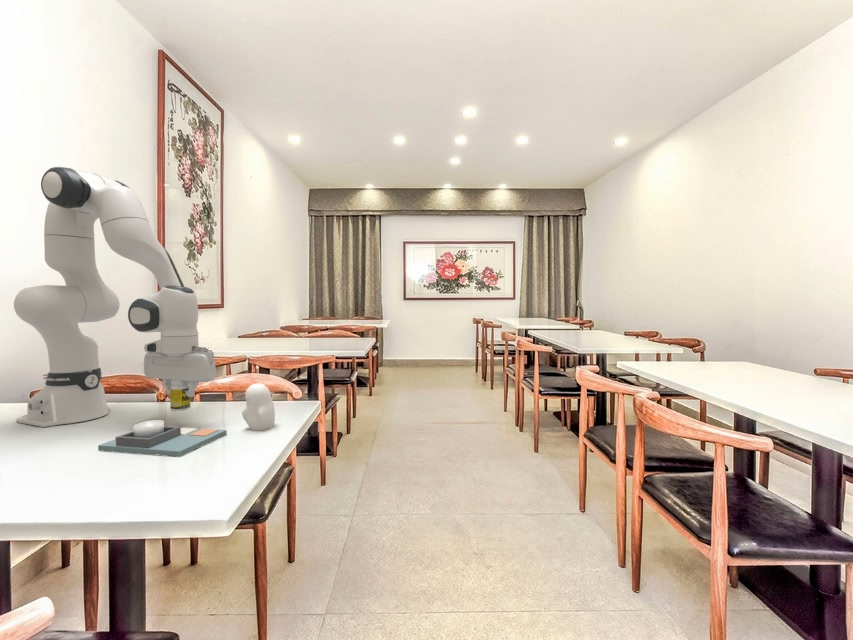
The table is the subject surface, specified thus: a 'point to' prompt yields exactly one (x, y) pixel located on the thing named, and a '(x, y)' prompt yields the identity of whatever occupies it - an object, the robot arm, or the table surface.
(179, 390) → the supplement bottle
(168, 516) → the table surface
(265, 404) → the figurine
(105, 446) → the board
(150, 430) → the dome
